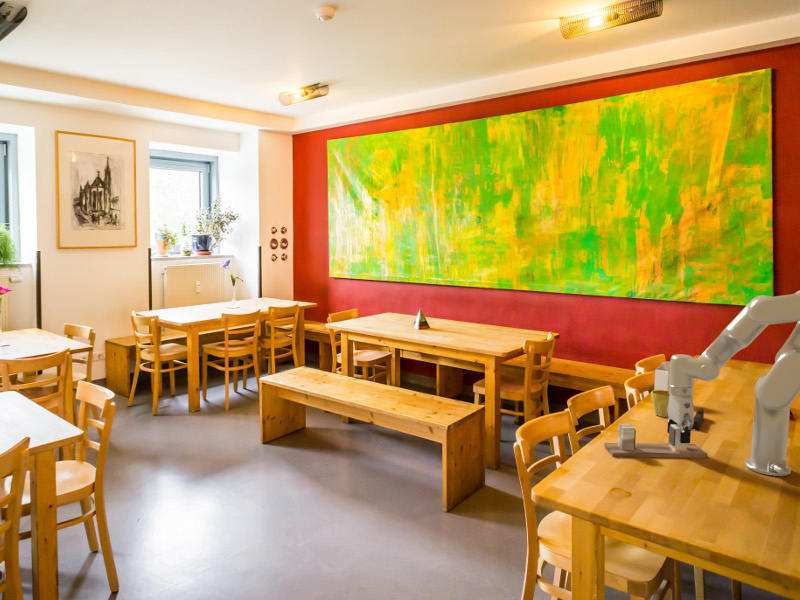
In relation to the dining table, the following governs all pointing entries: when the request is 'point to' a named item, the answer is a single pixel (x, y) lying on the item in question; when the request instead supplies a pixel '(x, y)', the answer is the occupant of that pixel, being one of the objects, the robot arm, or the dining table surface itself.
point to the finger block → (676, 438)
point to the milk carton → (662, 376)
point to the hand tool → (698, 419)
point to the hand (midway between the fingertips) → (678, 437)
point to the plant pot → (660, 402)
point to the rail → (647, 447)
